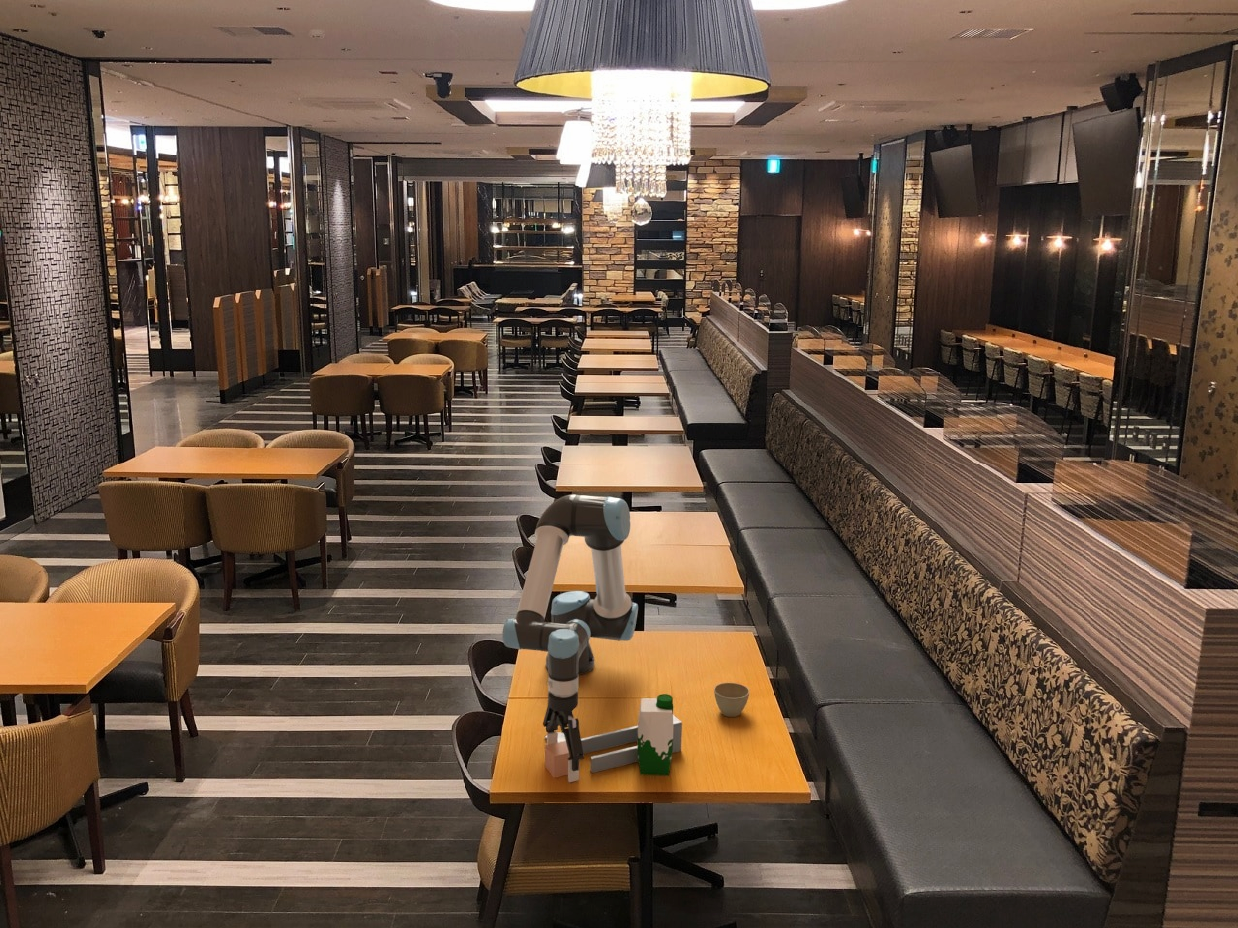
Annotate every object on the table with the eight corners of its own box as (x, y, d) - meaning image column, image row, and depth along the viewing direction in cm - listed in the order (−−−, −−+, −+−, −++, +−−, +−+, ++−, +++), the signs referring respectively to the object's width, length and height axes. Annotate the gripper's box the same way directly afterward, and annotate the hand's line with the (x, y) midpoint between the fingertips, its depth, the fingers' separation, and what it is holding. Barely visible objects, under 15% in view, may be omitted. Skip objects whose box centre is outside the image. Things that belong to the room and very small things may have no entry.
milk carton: (672, 778, 264) (674, 705, 259) (636, 777, 264) (638, 704, 259) (672, 760, 272) (674, 690, 267) (637, 759, 272) (638, 688, 268)
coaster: (544, 738, 281) (544, 735, 281) (572, 732, 285) (572, 729, 285) (556, 752, 274) (556, 749, 274) (584, 745, 278) (584, 742, 278)
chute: (575, 753, 274) (575, 724, 272) (661, 733, 285) (662, 705, 283) (592, 772, 265) (592, 743, 263) (681, 750, 276) (681, 722, 274)
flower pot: (752, 709, 300) (754, 686, 298) (741, 724, 291) (743, 700, 289) (719, 702, 304) (720, 679, 302) (707, 716, 295) (709, 693, 293)
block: (544, 766, 268) (544, 745, 266) (566, 761, 270) (566, 740, 269) (554, 777, 262) (554, 756, 261) (575, 772, 265) (576, 751, 264)
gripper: (530, 674, 271) (530, 748, 276) (569, 715, 249) (569, 795, 254) (557, 668, 274) (556, 742, 279) (598, 709, 252) (596, 788, 258)
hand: (562, 767), depth 267 cm, fingers open, 13 cm apart
